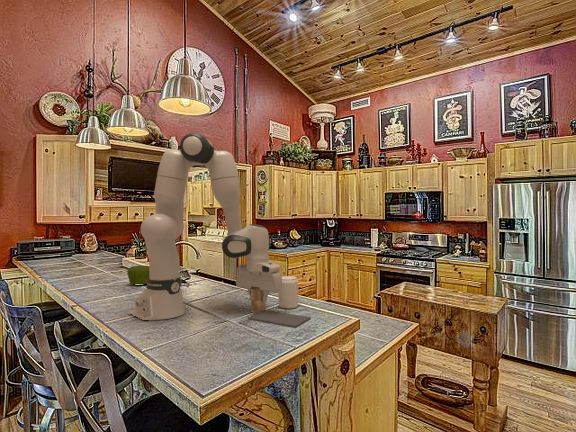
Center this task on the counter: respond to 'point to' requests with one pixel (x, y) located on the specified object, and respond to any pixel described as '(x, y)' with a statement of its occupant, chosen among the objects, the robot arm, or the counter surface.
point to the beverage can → (288, 293)
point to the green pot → (138, 274)
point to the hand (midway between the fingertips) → (258, 300)
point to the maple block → (257, 300)
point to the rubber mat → (280, 318)
